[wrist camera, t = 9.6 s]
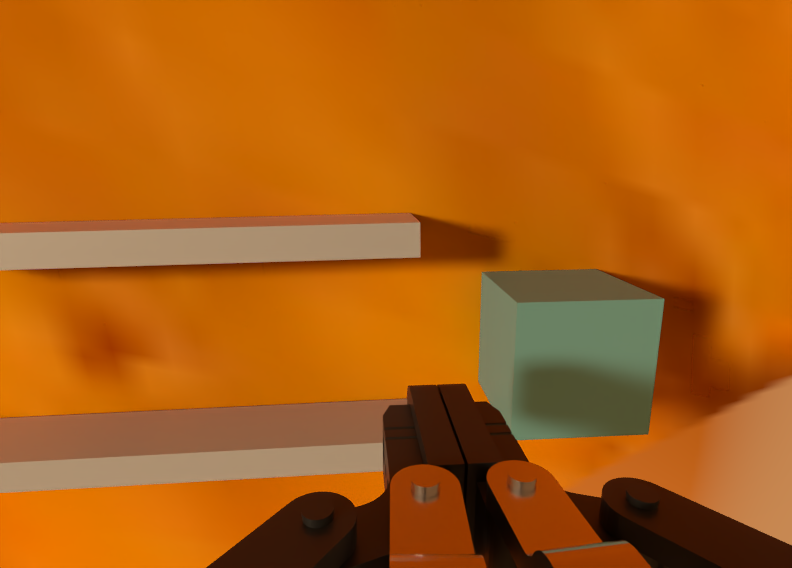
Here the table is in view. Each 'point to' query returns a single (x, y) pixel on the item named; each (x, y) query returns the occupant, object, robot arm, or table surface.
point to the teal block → (568, 352)
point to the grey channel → (207, 427)
